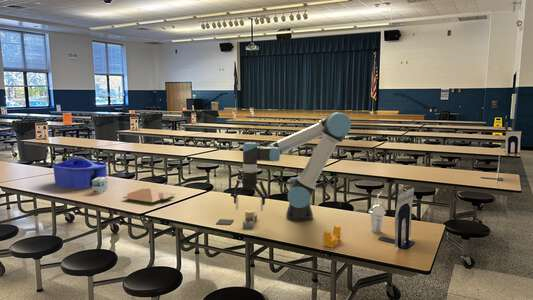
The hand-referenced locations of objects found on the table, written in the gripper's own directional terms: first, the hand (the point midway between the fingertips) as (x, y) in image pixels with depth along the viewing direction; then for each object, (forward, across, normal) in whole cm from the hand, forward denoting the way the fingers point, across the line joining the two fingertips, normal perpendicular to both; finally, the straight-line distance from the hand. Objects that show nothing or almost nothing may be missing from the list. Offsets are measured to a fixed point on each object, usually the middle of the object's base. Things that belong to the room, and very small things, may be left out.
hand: (249, 210), depth 202 cm
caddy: (+11, +148, -74) cm, 166 cm away
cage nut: (+8, -1, 0) cm, 8 cm away
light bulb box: (+10, +119, -53) cm, 131 cm away
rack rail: (+7, -1, 0) cm, 7 cm away
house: (+10, +76, -40) cm, 86 cm away
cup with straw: (+6, -67, +3) cm, 67 cm away
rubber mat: (+8, +13, 0) cm, 15 cm away
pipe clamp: (+7, -44, +22) cm, 50 cm away
